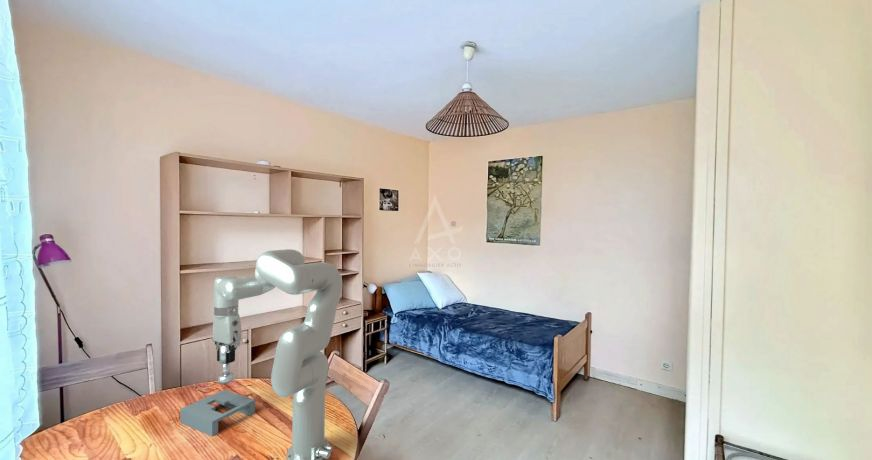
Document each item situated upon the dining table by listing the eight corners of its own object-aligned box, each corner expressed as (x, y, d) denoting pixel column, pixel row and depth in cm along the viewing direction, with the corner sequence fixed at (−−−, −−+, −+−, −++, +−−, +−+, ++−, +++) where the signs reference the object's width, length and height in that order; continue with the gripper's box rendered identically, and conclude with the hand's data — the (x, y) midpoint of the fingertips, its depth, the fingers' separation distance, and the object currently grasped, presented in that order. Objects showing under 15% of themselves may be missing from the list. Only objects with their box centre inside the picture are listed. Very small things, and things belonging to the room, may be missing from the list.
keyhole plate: (255, 413, 130) (255, 399, 130) (212, 436, 115) (212, 421, 115) (224, 402, 137) (224, 389, 137) (180, 422, 123) (180, 408, 123)
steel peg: (236, 379, 126) (236, 343, 126) (223, 384, 121) (223, 348, 121) (228, 376, 128) (228, 341, 128) (215, 382, 123) (215, 346, 123)
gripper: (251, 311, 124) (251, 361, 124) (221, 305, 131) (221, 353, 131) (231, 316, 117) (231, 369, 118) (201, 310, 124) (200, 360, 125)
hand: (226, 360), depth 124 cm, fingers closed on steel peg, 4 cm apart
